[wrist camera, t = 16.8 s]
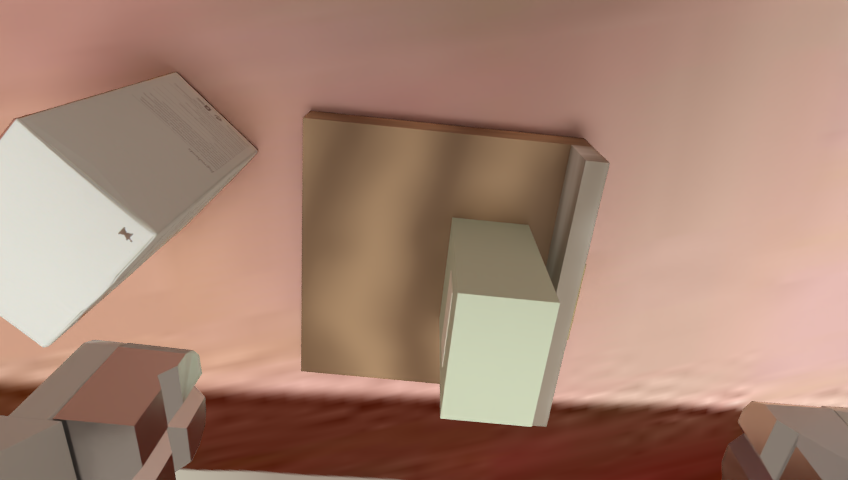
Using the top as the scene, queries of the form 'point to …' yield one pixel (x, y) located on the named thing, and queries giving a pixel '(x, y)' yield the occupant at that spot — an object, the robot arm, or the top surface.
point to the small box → (103, 194)
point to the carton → (494, 323)
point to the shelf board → (427, 233)
